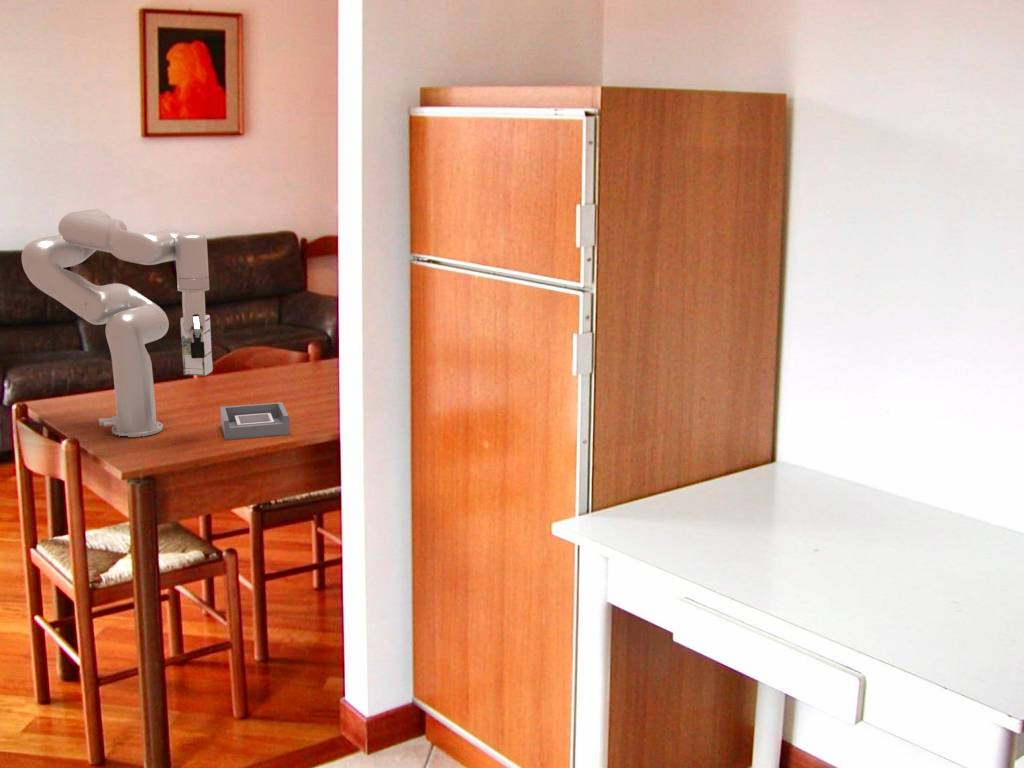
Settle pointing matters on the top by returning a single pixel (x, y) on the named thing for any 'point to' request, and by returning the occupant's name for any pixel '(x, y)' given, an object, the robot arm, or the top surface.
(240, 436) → the walled box
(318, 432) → the top surface
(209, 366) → the syrup box
